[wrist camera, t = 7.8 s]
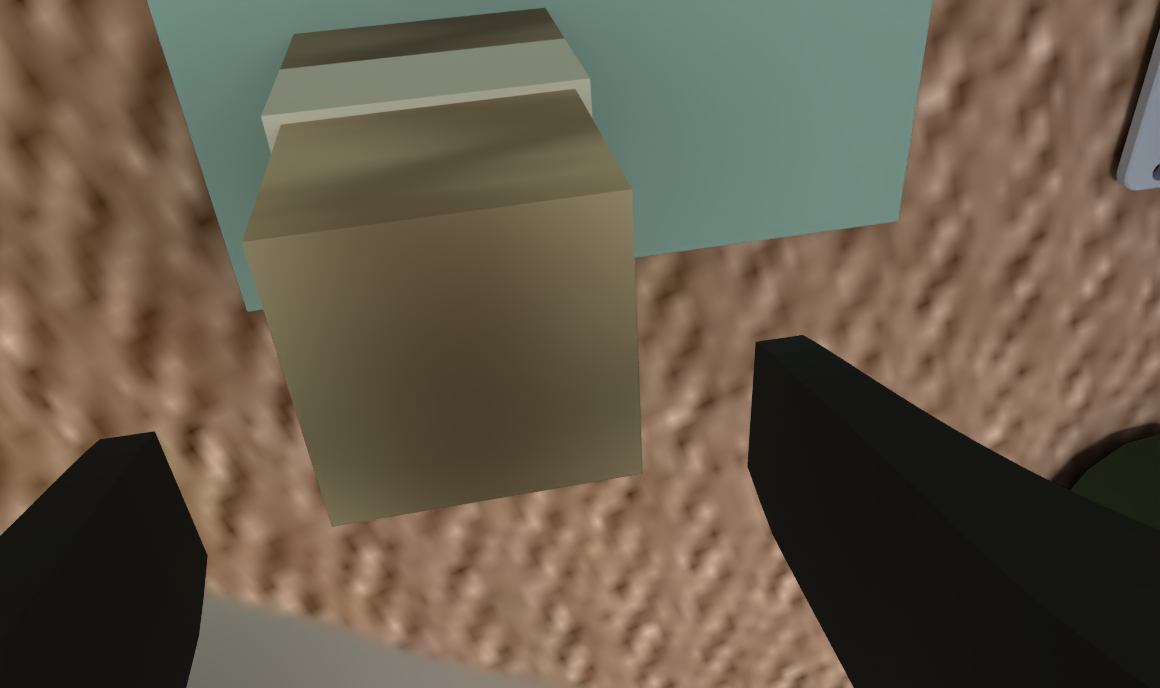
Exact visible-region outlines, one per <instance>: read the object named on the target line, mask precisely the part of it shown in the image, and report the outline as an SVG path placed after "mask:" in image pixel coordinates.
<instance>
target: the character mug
mask: <svg viewBox="0 0 1160 688" xmlns="http://www.w3.org/2000/svg"><path fill="white" fill-rule="evenodd" d="M1070 491H1072V492H1074V493H1077V494H1079V495H1081V496H1083V497H1085V498H1087V499H1090V500H1092V501H1094V502H1096V503H1098V504H1100V505H1103V506H1105V507H1107V508H1109V509H1111V510H1113V511H1116V512H1118V513H1120V514H1122V515H1125V516H1127V517H1129V518H1132V519H1134V520H1137V521H1139V522H1141V523H1144V524H1146V525H1149V526H1151V527H1153V528H1156V529H1158V530H1160V435H1156V436H1153V437H1149V438H1145V439H1141V440H1137V441H1133V442H1129V443H1126V444H1124V445H1123V446H1121V447H1120V448H1118V449H1117V450H1116V451H1114V452H1113V453H1111V454H1110V455H1108V456H1107V457H1105V458H1104V459H1102V460H1101V461H1100V462H1098V463H1097V464H1095V465H1094V466H1092V467H1091V468H1089V469H1088V470H1087V471H1086V472H1085V474H1084V475H1083V476H1082V477H1081V478H1080V479H1079V481H1078V482H1077V483H1076V484H1075V485H1074V487H1073V488H1072V489H1071V490H1070Z"/></svg>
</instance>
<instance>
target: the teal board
mask: <svg viewBox="0 0 1160 688" xmlns="http://www.w3.org/2000/svg"><path fill="white" fill-rule="evenodd" d="M932 1H933V0H147V2H148V6H149V9H150V12H151V15H152V18H153V21H154V24H155V27H156V30H157V33H158V37H159V40H160V43H161V46H162V49H163V52H164V55H165V58H166V61H167V64H168V68H169V71H170V74H171V77H172V80H173V83H174V86H175V89H176V92H177V95H178V99H179V102H180V105H181V108H182V111H183V114H184V117H185V120H186V123H187V126H188V130H189V133H190V136H191V139H192V142H193V145H194V148H195V151H196V154H197V157H198V160H199V164H200V167H201V170H202V173H203V176H204V179H205V182H206V185H207V188H208V191H209V195H210V198H211V201H212V204H213V207H214V210H215V213H216V216H217V219H218V222H219V226H220V229H221V232H222V235H223V238H224V241H225V244H226V247H227V250H228V253H229V257H230V260H231V263H232V266H233V269H234V272H235V275H236V278H237V281H238V284H239V288H240V291H241V294H242V297H243V300H244V303H245V306H246V309H247V312H248V311H256V310H263V307H262V304H261V301H260V298H259V295H258V292H257V288H256V285H255V282H254V279H253V276H252V273H251V269H250V266H249V263H248V260H247V257H246V254H245V251H244V247H243V244H242V240H243V237H244V234H245V231H246V228H247V225H248V222H249V219H250V216H251V213H252V210H253V207H254V204H255V201H256V198H257V195H258V192H259V189H260V186H261V183H262V180H263V177H264V174H265V171H266V168H267V165H268V162H269V159H270V156H271V151H270V148H269V144H268V140H267V137H266V133H265V129H264V126H263V122H262V118H261V115H262V112H263V110H264V107H265V105H266V102H267V100H268V98H269V95H270V93H271V90H272V88H273V85H274V83H275V80H276V78H277V75H278V73H279V70H280V68H281V65H282V63H283V60H284V58H285V55H286V53H287V50H288V48H289V45H290V43H291V40H292V38H293V35H294V34H299V33H309V32H318V31H328V30H337V29H347V28H356V27H366V26H375V25H385V24H394V23H404V22H413V21H423V20H432V19H442V18H451V17H461V16H470V15H480V14H489V13H499V12H508V11H518V10H527V9H537V8H546V10H547V11H548V13H549V14H550V16H551V18H552V19H553V21H554V22H555V24H556V25H557V27H558V29H559V30H560V32H561V33H562V35H563V36H564V38H565V40H566V41H567V43H568V44H569V46H570V47H571V49H572V51H573V52H574V54H575V55H576V57H577V58H578V60H579V62H580V63H581V65H582V66H583V68H584V69H585V71H586V73H587V74H588V76H589V77H590V84H591V102H592V119H593V121H594V122H595V124H596V126H597V128H598V129H599V131H600V133H601V135H602V137H603V138H604V140H605V142H606V144H607V145H608V147H609V149H610V151H611V152H612V154H613V156H614V158H615V159H616V161H617V163H618V165H619V166H620V168H621V170H622V172H623V173H624V175H625V177H626V179H627V181H628V182H629V184H630V186H631V188H632V190H633V218H634V246H635V258H637V257H644V256H651V255H658V254H666V253H673V252H680V251H687V250H694V249H702V248H709V247H716V246H723V245H730V244H737V243H745V242H752V241H759V240H766V239H773V238H781V237H788V236H795V235H802V234H809V233H817V232H824V231H831V230H838V229H845V228H853V227H860V226H867V225H874V224H881V223H888V222H896V221H898V218H899V212H900V205H901V199H902V192H903V186H904V180H905V173H906V167H907V160H908V154H909V148H910V141H911V135H912V129H913V122H914V116H915V109H916V103H917V97H918V90H919V84H920V77H921V71H922V65H923V58H924V52H925V46H926V39H927V33H928V26H929V20H930V14H931V7H932Z"/></svg>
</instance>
